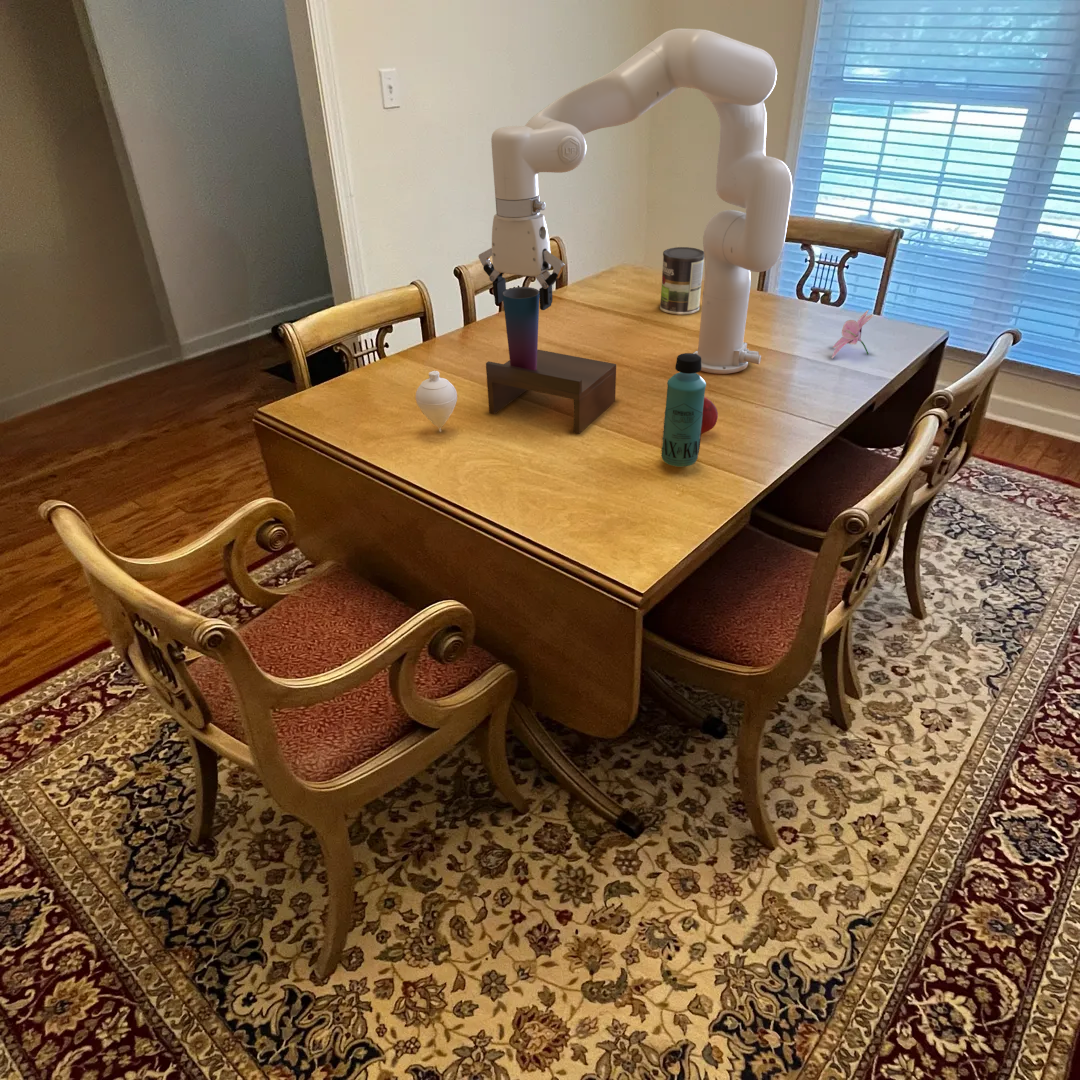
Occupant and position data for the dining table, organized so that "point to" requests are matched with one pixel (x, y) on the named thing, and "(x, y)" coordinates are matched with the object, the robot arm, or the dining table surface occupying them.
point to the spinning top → (436, 399)
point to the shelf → (556, 384)
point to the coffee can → (681, 280)
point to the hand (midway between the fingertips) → (523, 304)
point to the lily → (852, 333)
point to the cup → (522, 325)
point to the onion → (708, 416)
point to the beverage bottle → (683, 412)
